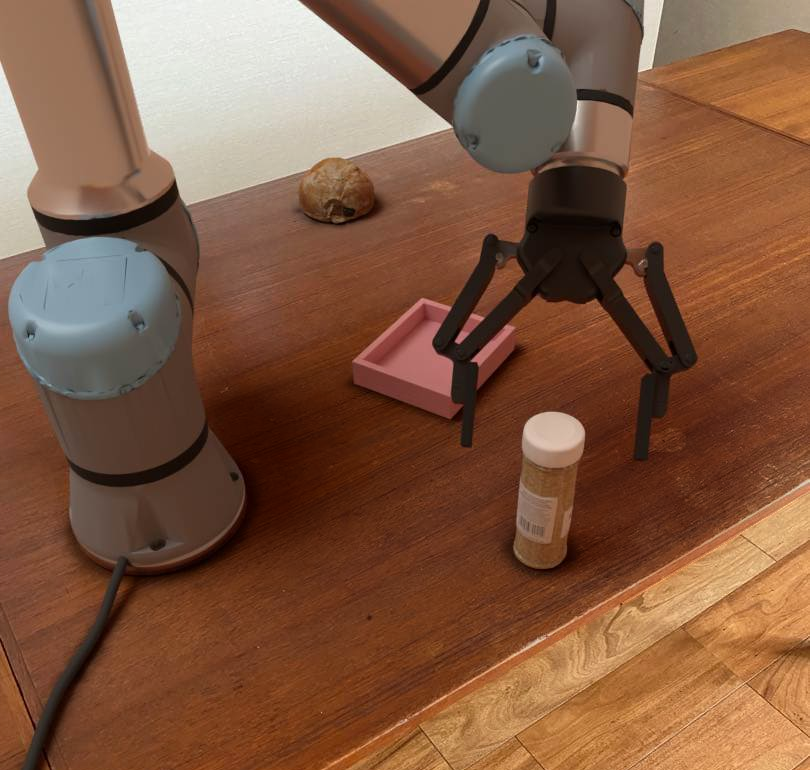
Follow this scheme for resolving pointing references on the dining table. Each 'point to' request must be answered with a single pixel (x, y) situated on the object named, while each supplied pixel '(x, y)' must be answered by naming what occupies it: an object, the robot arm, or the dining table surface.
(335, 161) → the bread roll
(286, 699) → the dining table surface
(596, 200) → the robot arm
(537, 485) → the spice jar
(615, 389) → the dining table surface
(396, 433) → the dining table surface
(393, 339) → the pink tray
